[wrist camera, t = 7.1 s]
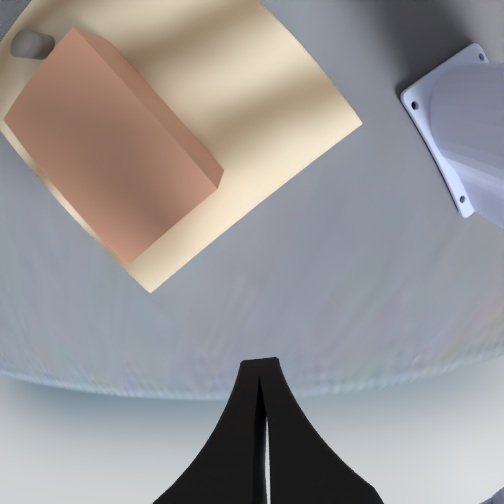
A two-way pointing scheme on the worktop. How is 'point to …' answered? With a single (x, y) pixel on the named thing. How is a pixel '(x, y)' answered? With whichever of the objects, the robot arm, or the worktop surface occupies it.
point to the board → (197, 100)
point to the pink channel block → (111, 144)
